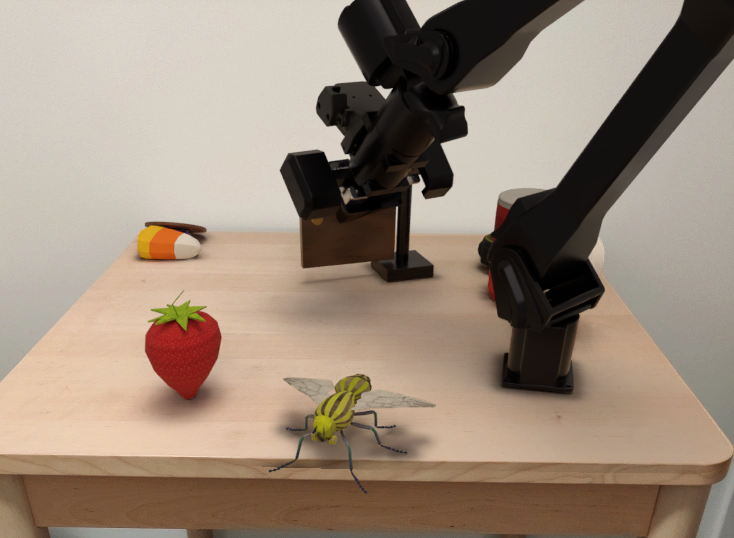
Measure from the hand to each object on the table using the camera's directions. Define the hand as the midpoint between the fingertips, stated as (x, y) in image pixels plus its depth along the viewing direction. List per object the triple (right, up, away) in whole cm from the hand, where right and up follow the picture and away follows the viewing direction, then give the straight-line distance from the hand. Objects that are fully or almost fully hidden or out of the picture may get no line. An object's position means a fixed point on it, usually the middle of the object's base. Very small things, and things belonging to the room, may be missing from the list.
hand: (340, 219), depth 85 cm
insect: (+1, -27, -25) cm, 37 cm away
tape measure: (+21, -2, +10) cm, 23 cm away
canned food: (+21, -8, +2) cm, 22 cm away
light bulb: (+23, -14, -6) cm, 27 cm away
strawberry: (-13, -23, -18) cm, 32 cm away
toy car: (-22, +5, +16) cm, 28 cm away
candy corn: (-26, +2, +12) cm, 28 cm away
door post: (+7, -3, +8) cm, 11 cm away
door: (+1, -4, +5) cm, 6 cm away
